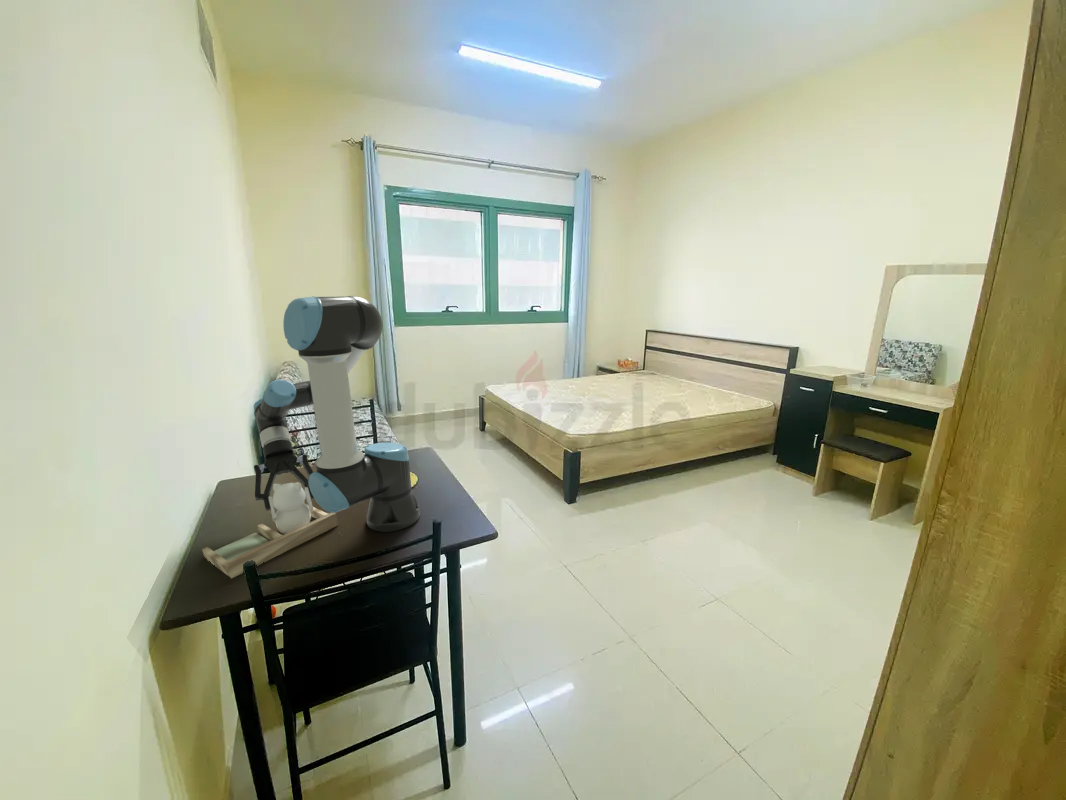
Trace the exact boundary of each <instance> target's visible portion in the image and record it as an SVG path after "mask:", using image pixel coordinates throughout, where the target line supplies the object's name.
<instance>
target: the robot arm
mask: <svg viewBox="0 0 1066 800" xmlns="http://www.w3.org/2000/svg"><path fill="white" fill-rule="evenodd" d="M282 321H283V325H282V326H283V333H284V337H285V339H286V343H287V344H288V346H289V347H290V348H292V350H295V351H298V357H299V358H301V359H302V360H304V361H305V362H306V364H307V369H308V370H307V371H308V376H309V377H308V378H309V380H307V381H301V382H295V383H292V382H291V381H289V380H287V379H286V380H284V379H282V378H281V379H276V380H272V381H271V382H269V383H268V385H267V387H266V388H265V390H264V392H263V394H262V398H259V399H258V400H257V401H255V403H254V404H253V409H254V410H253V416H254V417H255V421H256V426H257V430H258V433H259V440H260V444H261V447H262V453H263V456H264V462H263V463H262V464H259V465H258V464H255V465H254V466H253V471H254V473H255V484H254V498H255V501H263V504H264V507H265V511H267V512H268V511H270V513H271V517H272V522H274V523H275V521H276V511H275V507H274V505H273V496H272V495H271V492H272V490H273V485H274V484H275V480H276V477H277V476H280V475H282V474H289V473H290V474H292V475H293V476H294V477H295V478H296V479H297V481H299V483H300V484H301V485H302V486H304V491H305V494H306V497H305V499H306V502H307V504H308V506H309V510H310V511H313V507H314V506H313V502H312V500H313V499H314V500H315V502H316V503H317V505H319V507H320V508H321V509H323V510H324V512H325V511H326V513H336V514H337V513H338V512H339V513H340V512H341V511H343V510H348V509H349V508H351V507H353V506H356V505H357V504H358V505H359V503H361V502H364V501H367V500H368V499H370V500H369V504H368V508H367V513H366V516H365V517H366V525H367V527H368V528H369V529H370V530H372V531H375V532H381V533H386V532H387V533H388V532H389V533H391V532H397V531H400V530H403V529H406V528H408V527H410V526H412V525H414V524H415V523H417V521H418V520H419V519H420V517H421V511H420V504H419V503H418V501H417V499H416V497H415V495H414V492H413V491H412V480H411V471H410V469H411V468H410V458H409V451H408V449H407V446H404V445H403V444H400V443H396V442H378V443H376V442H375V443H372V444H369V445H367V446H366V447H365V448H364V449H363V451H361V450H359V449H358V445H357V444H358V443H357V435H356V429H355V428H356V427H355V420H354V412H353V405H352V404H353V403H352V397H351V389H350V388H351V387H350V381H349V373H350V372H351V370H352V369H353V368H354V367H355V366H356V364H357V362H359V360H360V359H361V357H363V354H364V353H365V352H366V351H368V350H370V349H372V348H374V346H375V345H376V344H377V342H378V341H379V340H380V337H381V335H382V332H383V319H382V316H381V313H380V311H379V309H377V307H376V306H375V305H374V304H373V303H372V302H370V301H369V300H367V299H366V298H363V297H360V296H356V295H347V296H343V295H342V296H309V297H308V296H307V297H306V296H305V297H298V298H294V299H293V300H291V302H289V303H288V304H287V308H286V309H285V310H284V315H283V320H282ZM308 406H313V409H314V417H315V423H316V430H317V436H318V442H319V449H320V455H319V456H318V458H317V459H316V460H315V468H316V471H313V469H312V467H311V466H310V464H309V462H308V456H307V454H303V455H302V456H297V455H296V454H295V453H294V449H293V444H292V442H291V441H292V440H291V437H290V432H289V428H288V425H287V421H286V417H287V415H288V413H289V411H291V410H294V409H300V408H303V407H308ZM297 462H299V464H300V465H302V468H303V469H304V471H305V472H306V474H307V476H308V479H307V477H306V476H305V475H304V474H303V473H302V472H301V470H299V469H298V468H297V466H296V464H297ZM264 469H266V470H267V471H269V476H268V479H267V482H266V485H265V488H264V491H263V493H261V492H262V474H263V473H264Z"/></svg>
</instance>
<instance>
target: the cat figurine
mask: <svg viewBox="0 0 1066 800" xmlns="http://www.w3.org/2000/svg"><path fill="white" fill-rule="evenodd" d="M272 490H273V494H272V495H273V496H272V501H273V505H274V509H276V510H277V511H276V512H275V514H276V521H275V522H274V524H275V526H276V529H277V531H278V532H280V534H281V535H284V534H286V533H288V532H291V531H293V530H295V529H297V528H299V527H301V526H303V525H306V524H308V523H310V522H311V520H312V516H311V513H310V510H309V508H308V506H307V505H306V504H307V503H305V502H306V501H305V500H306V494H305V489H304V488H303V487H302V483H301V482H300V481H299V482H296V481H295V482H286V483H283V484H281V483H273V486H272Z"/></svg>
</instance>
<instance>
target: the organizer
mask: <svg viewBox="0 0 1066 800" xmlns="http://www.w3.org/2000/svg"><path fill="white" fill-rule="evenodd" d="M305 504H306V505H307V506H308V503H305ZM308 508H309V506H308ZM310 513H311V518H314V520H312V521H310V522H309V523H308V524H306V525H303V526H301V527H299V528H297V529H295V530H293V531H291V532H288V533H286V534H282V533H279V531H276V530H274V529H272V528H270V527H269V526H267V525H265V524H263V523H260V524H258V525H256V527H257V531H258V533H257V532H254V533H252V534H249V535H247V536H244V537H243V538H239V539H237V540H235V541H233V542H231V543H229V544H226V545H224V546H222V547H220V548H218V549H215V550H213V549H212V548H210V547H209V546H206V547H204V548H202V549H201V550H202V553H203V558H204V557H205V558H206V559H207V560H206V559H205V558H204V559H205V560H206V561H208V562H209V561H210V562H211V563H210V562H209V563H210V564H212V565H213V566H214V565H215V567H216V568H217V569H218V570H220V571H221V572H222V573H224V574H225V575H226V576H228V577H229V578H230V579H233V578H236V577H237V576H240V575H242V574H243V564H244V563H245V562H247V561H251V560H253V561H255V562H256V564H257V566H256V567H258V566H260V565H262V564H263V562H264V563H266V562H268V561H270V560H272V559H273V558H275V557H277V556H280V555H282V554H283V553H286V552H287V551H290V550H292V549H294V548H296V547H297V546H300V545H302V544H303V543H306V542H308V541H310V540H311V539H314V538H316V537H318V536H319V535H322V534H324V533H325V532H328V531H329V530H332V529H333V528H336V527H338V526H339V524H338V523H339V522H338V517H337V512H336V513H330V512H327V511H326V512H325V511H323V510H322V509H318V508H316V507H314V506H313V511H310Z"/></svg>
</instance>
